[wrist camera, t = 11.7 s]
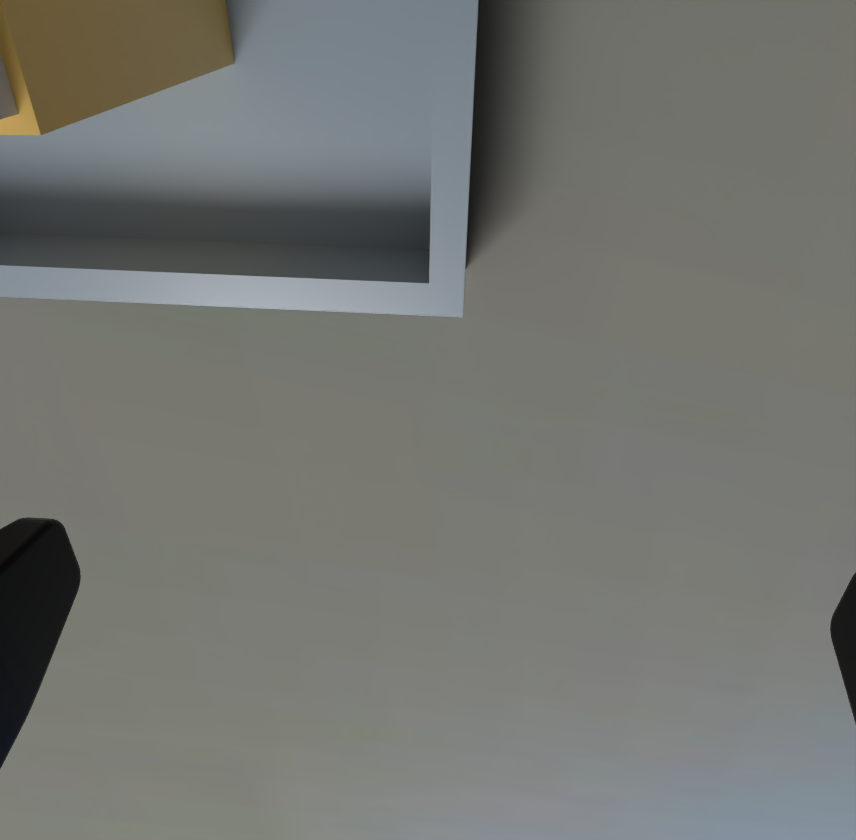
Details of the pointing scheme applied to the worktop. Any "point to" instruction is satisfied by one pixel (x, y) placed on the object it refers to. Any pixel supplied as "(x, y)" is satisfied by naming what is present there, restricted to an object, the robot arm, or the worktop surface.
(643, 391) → the worktop surface
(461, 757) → the worktop surface
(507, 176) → the worktop surface
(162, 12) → the block
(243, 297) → the parts tray
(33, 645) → the robot arm
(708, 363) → the worktop surface
